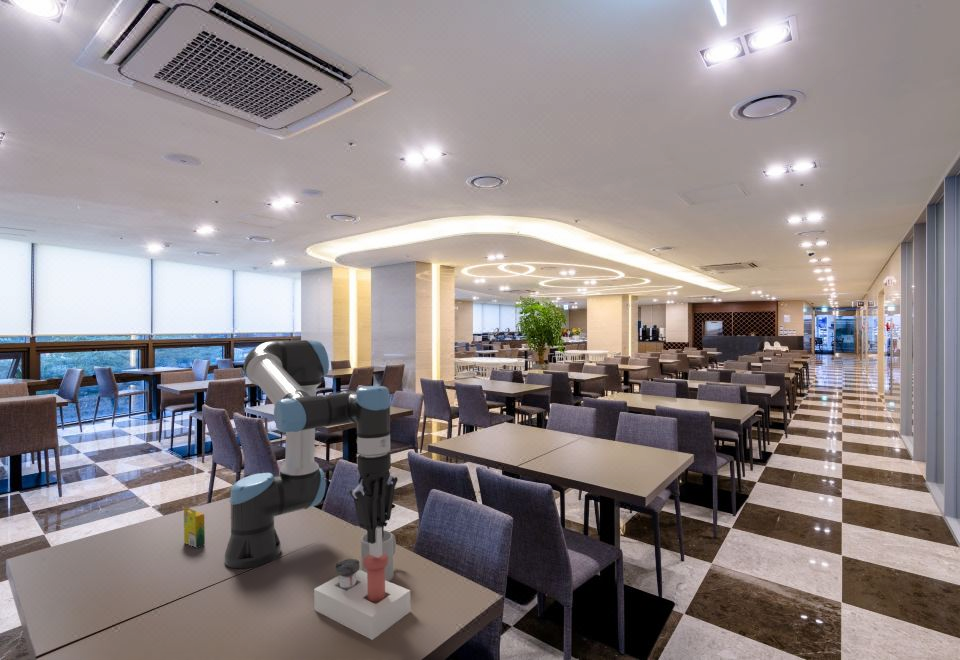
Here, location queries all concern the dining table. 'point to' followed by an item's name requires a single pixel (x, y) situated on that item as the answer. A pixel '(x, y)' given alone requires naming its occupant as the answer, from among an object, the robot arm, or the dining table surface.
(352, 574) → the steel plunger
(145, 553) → the dining table surface
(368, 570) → the red plunger
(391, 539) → the mug
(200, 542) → the crayon box
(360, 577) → the white socket block
